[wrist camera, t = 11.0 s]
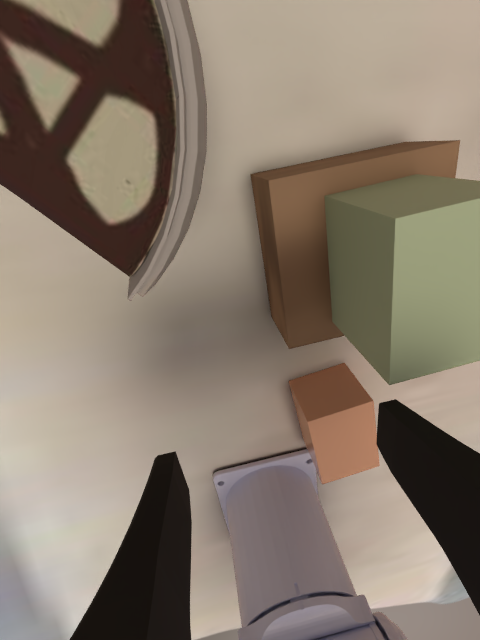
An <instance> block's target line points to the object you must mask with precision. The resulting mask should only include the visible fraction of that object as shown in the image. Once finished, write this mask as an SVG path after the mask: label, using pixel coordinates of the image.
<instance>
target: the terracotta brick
mask: <svg viewBox="0 0 480 640" xmlns="http://www.w3.org/2000/svg"><path fill="white" fill-rule="evenodd" d="M289 385H290V389H291V393H292V397H293V400H294V404H295V408H296V412H297V416H298V420H299V424H300V428H301V432H302V436H303V440H304V442H305V444H306V447H307V449H308V451H309V454H310V456H311V459H312V461H313V463H314V466H315V468H316V471H317V473H318V475H319V478H320V480H321V482H322V484H325V483H328V482H331V481H334V480H337V479H341V478H344V477H347V476H350V475H353V474H356V473H359V472H362V471H365V470H368V469H371V468H374V467H377V466H379V456H378V446H377V444H376V442H377V434H376V424H375V413H374V402H373V400H372V398H371V397H370V396H369V394H368V393H367V392H366V391H365V389H364V388H363V387H362V385H361V384H360V383H359V381H358V380H357V379H356V377H355V376H354V375H353V373H352V372H351V371H350V370H349V368H348V367H347V366H346V364H345V363H342V364H339V365H336V366H333V367H330V368H327V369H324V370H321V371H318V372H314V373H311V374H308V375H305V376H302V377H299V378H296V379H293V380H290V381H289Z"/></svg>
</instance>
